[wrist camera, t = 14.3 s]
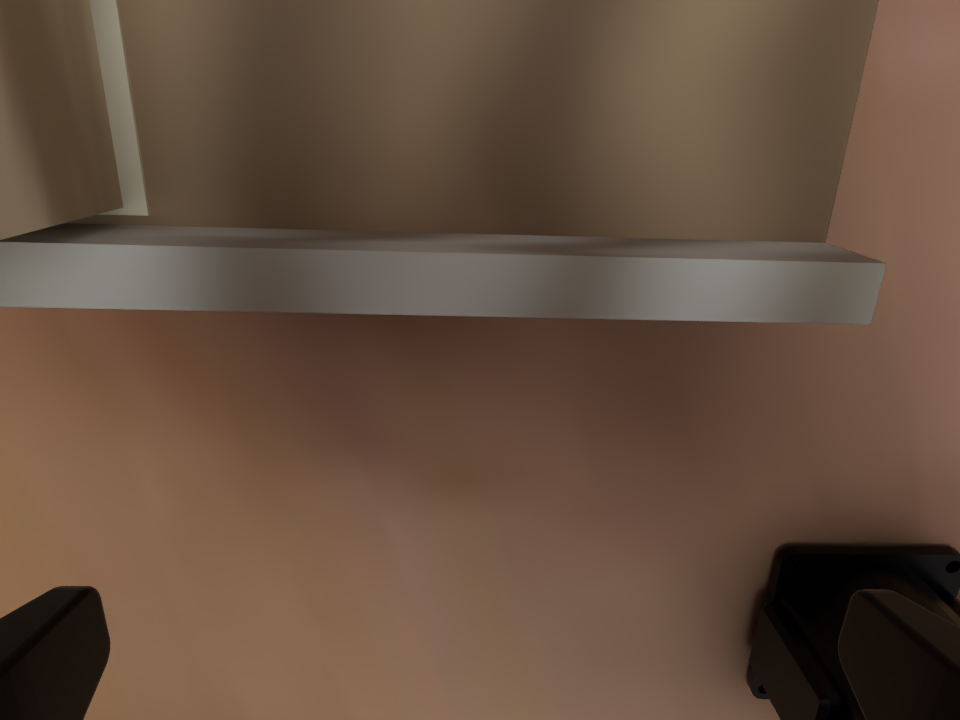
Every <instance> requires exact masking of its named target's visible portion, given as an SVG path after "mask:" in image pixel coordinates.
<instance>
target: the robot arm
mask: <svg viewBox="0 0 960 720" xmlns="http://www.w3.org/2000/svg"><path fill="white" fill-rule="evenodd" d="M794 560H796V562H794V563H793V564H790V562H792V561H794ZM789 564H790V565H789ZM959 588H960V553H959V552H958V551H957V550H955V549H954V548H949V547H800V546H792V547H787V548H785V549H783V550H781V551H780V552H779V553H778V554H777V557H776V559H775V563H774V568H773V572H772V576H771V580H770V585H769V589H768V593H767V598H766V602H765V604H764V605H763V607H762V608H761V611H760V616H759V620H758V624H757V629H756V633H755V637H754V642H753V646H752V650H751V655H750V663H751V666H750V670H749V675H748V679H747V684H748V686H749V688H750V690H751V692H752V694H753V695H754V696H755V697H757V698H760V699H770V701H771V703H772V704H773V706H774V708H775V710H776V712H777V714H778V716H779V717H780V719H781V720H960V602H959V601H958V600H957V599H956V596H957V594H958V591H959ZM109 653H110V637H109V633H108V628H107V624H106V619H105V615H104V610H103V606H102V601H101V597H100V594H99V592H98V591H97V590H96V589H95V588H93V587H90V586H60V587H56V588H53V589H51V590H49V591H48V592H46V593H44V594H42V595H41V596H39V597H37V598H35V599H34V600H32V601H30V602H28V603H27V604H25V605H23V606H21V607H20V608H18V609H16V610H14V611H13V612H11V613H9V614H7V615H6V616H4V617H2V618H0V720H83V719H84V717H85V714H86V712H87V710H88V707H89V705H90V702H91V700H92V698H93V695H94V693H95V691H96V688H97V686H98V683H99V681H100V679H101V676H102V674H103V672H104V669H105V667H106V664H107V661H108V658H109Z"/></svg>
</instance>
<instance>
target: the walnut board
mask: <svg viewBox="0 0 960 720" xmlns="http://www.w3.org/2000/svg"><path fill="white" fill-rule="evenodd" d="M878 1H879V0H90V6H91V12H92V18H93V24H94V30H95V36H96V43H97V49H98V55H99V61H100V67H101V73H102V79H103V85H104V92H105V98H106V104H107V110H108V116H109V122H110V128H111V135H112V141H113V147H114V153H115V159H116V165H117V171H118V178H119V184H120V190H121V196H122V202H123V208H120V209H116V210H112V211H108V212H104V213H101V214H97V215H93V216H89V217H85V218H82V219H78V220H74V221H70V222H67V223H63V224H59V225H55V226H51V227H48V228H44V229H40V230H36V231H32V232H29V233H25V234H21V235H17V236H14V237H10V238H6V239H2V240H0V307H41V308H90V309H139V310H187V311H236V312H285V313H333V314H382V315H431V316H479V317H528V318H577V319H625V320H674V321H723V322H771V323H820V324H869V325H871V321H872V317H873V314H874V310H875V306H876V302H877V298H878V294H879V290H880V286H881V282H882V279H883V275H884V271H885V267H886V263H883V262H880V261H877V260H875V259H872V258H869V257H866V256H863V255H860V254H857V253H854V252H851V251H848V250H845V249H842V248H839V247H836V246H833V245H830V244H827V243H825V242H826V237H827V233H828V228H829V224H830V219H831V215H832V210H833V206H834V201H835V196H836V192H837V187H838V183H839V178H840V174H841V169H842V165H843V160H844V156H845V151H846V147H847V142H848V137H849V133H850V128H851V124H852V119H853V115H854V110H855V106H856V101H857V97H858V92H859V88H860V83H861V78H862V74H863V69H864V65H865V60H866V56H867V51H868V47H869V42H870V38H871V33H872V29H873V24H874V19H875V15H876V10H877V6H878Z"/></svg>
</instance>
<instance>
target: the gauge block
mask: <svg viewBox="0 0 960 720" xmlns="http://www.w3.org/2000/svg"><path fill="white" fill-rule="evenodd" d="M120 208H123V202H122V196H121V190H120V184H119V178H118V171H117V165H116V159H115V153H114V147H113V141H112V135H111V128H110V122H109V116H108V110H107V104H106V98H105V92H104V85H103V79H102V73H101V67H100V61H99V55H98V49H97V43H96V36H95V30H94V24H93V18H92V12H91V6H90V0H0V240H2V239H6V238H10V237H14V236H17V235H21V234H25V233H29V232H32V231H36V230H40V229H44V228H48V227H51V226H55V225H59V224H63V223H67V222H70V221H74V220H78V219H82V218H85V217H89V216H93V215H97V214H101V213H104V212H108V211H112V210H116V209H120Z"/></svg>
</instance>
